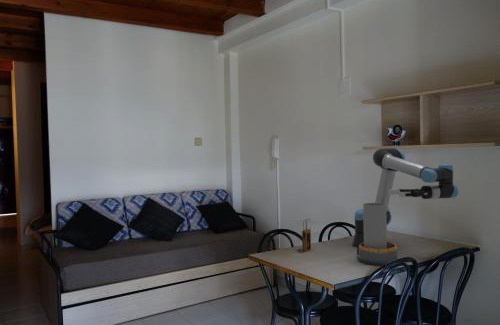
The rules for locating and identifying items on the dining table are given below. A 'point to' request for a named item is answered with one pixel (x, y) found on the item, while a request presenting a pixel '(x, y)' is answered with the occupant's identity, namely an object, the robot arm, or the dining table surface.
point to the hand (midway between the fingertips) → (393, 193)
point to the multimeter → (306, 239)
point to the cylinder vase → (375, 225)
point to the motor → (377, 254)
